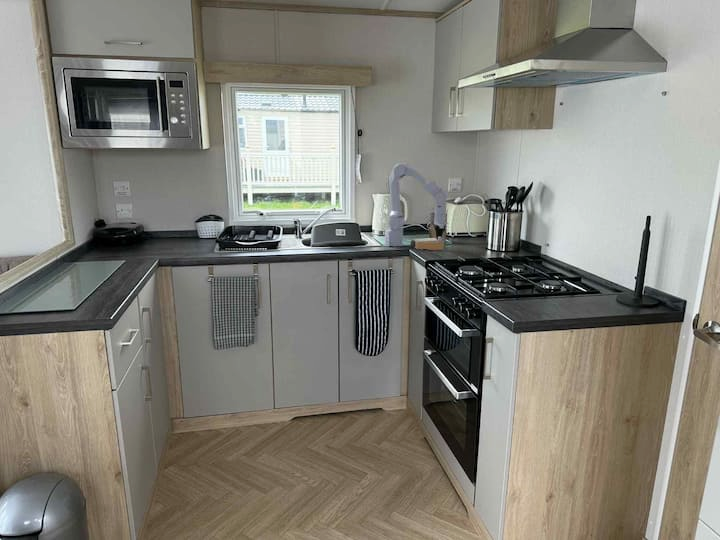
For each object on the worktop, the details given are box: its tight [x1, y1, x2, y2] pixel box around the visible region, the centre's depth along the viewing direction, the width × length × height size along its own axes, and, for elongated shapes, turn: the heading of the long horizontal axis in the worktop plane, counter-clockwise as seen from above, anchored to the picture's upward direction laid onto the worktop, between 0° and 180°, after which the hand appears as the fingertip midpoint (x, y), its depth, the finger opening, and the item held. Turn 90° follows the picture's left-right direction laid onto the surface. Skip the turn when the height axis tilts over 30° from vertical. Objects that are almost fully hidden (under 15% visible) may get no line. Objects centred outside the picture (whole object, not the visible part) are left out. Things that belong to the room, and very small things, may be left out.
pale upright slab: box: [410, 237, 438, 250], centre depth 275 cm, size 15×7×4 cm, turn 109°
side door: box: [417, 236, 445, 251], centre depth 268 cm, size 14×2×7 cm, turn 87°
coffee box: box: [428, 212, 448, 244], centre depth 289 cm, size 9×6×16 cm
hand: (438, 239), depth 269 cm, fingers closed
